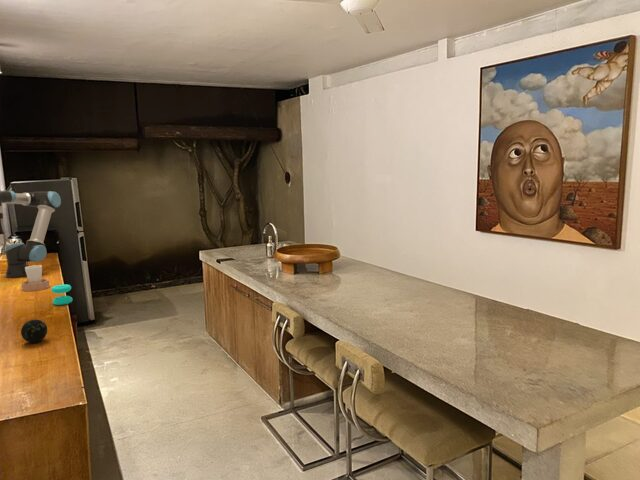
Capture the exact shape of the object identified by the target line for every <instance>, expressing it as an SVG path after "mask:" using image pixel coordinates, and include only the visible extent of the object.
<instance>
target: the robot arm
mask: <svg viewBox="0 0 640 480" xmlns="http://www.w3.org/2000/svg"><path fill="white" fill-rule="evenodd" d="M61 199H62V198H61V196H60V194H59V193H58V192H56V191H51V190H48V191H30V192H22V193H19V192H18V193H17V192H14V191H13V190H3V191H2V190H0V245H5V239H4V234H5V232H4V230H3V229H4V228H3V225H2V220H3V219H4V213H3V205H2V204H8V205H9V204H11V205H13V204H14V205H22V206H24V207H25V206H27V207H33V208H37V209H38V211H37V215H36V217H35V221H34V225H33V228H32V231H31V235H30V238H29V239H28V240H26V242H25V243H24V242H17V243H14V244H8V245H6V246H5V257H6V263H7V268H6V270H5V271H6V272H5V278H6V279H7V278H8V279H15V278H16V279H17V278H24V277H27V274H26V272H25V267H28V266H29V265H28V263H27V262H29V263H38V262H41V261H43V260H44V259H46V257H47V253H48V252H47V248H46V244H45V243H44V241H45V237H46V234H47V230H48V227H49V224H50V220H51V217H52V213H54V212H55V211H56V208H59V207H60V206H61V204H62V200H61Z"/></svg>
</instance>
